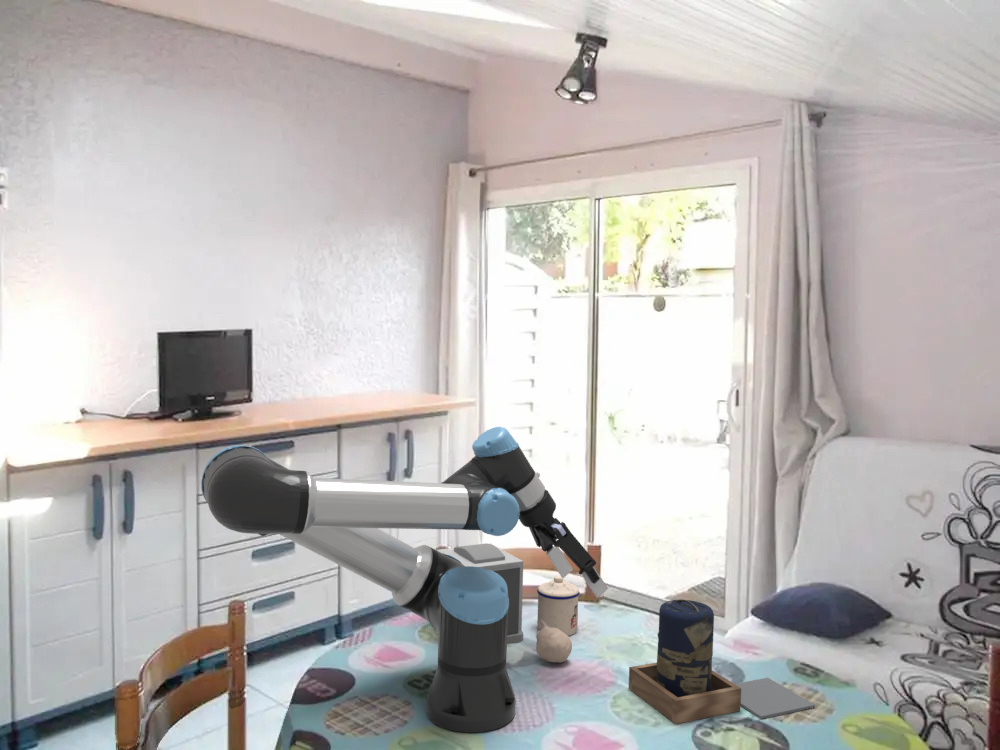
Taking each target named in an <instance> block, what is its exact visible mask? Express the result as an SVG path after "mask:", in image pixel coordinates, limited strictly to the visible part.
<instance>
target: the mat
mask: <svg viewBox="0 0 1000 750" xmlns="http://www.w3.org/2000/svg"><path fill="white" fill-rule="evenodd" d="M734 684H735V685H737V686H738V687H740V688H741V707H742V709H744V710H746V711H747V712H749V713H751V714H752V715H754V716H755V717H757V718H758V719H759V720H764V719H767V718H772V717H777V716H778V717H779V716H782V715H788V714H792V713H797V712H801V710H802V711H806V710H809V709H808V708H811V709H813V708H812V707H815V708H816V704H814V703H812V702H811V701H809V700H807V699H805V698H804V697H803V696H801V695H798V694H797V693H796V692H793V691H792V690H790V689H788V688H787V687H785V686H783V685H782V684H780V683H779V682H776V681H775V680H773V679H771V678H769V677H764V678H758V679H754V680H753V679H752V680H748V681H747V680H746V681H743V682H739V683H734ZM741 707H740V708H741ZM805 709H806V710H805Z"/></svg>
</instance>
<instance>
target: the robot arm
mask: <svg viewBox="0 0 1000 750" xmlns="http://www.w3.org/2000/svg"><path fill="white" fill-rule="evenodd" d="M471 448H472V451H473V453H474V456H473V457H472V458H471V460H469V461H468V462H467V463H465V465H463V466H462V467H460V468H458V470H456V471H455V472H454V473H452V474H451V475H450V476H449V477H447V478H446V479H445V480H443V481H441V482H439V483H438V482H436V483H435V482H418V481H417V482H416V481H415V482H413V481H394V480H393V481H391V480H370V479H369V480H367V479H366V480H365V479H344V478H322V477H313V476H312V474H310V473H309V472H308V471H307V470H295V469H288V468H287V467H285V466H283V465H281V464H280V463H279V462H276V461H274V460H273V459H271V458H269V457H268V456H266V454H265V453H264V452H263V451H261V450H260V449H258V448H256V447H253V446H249V445H231V446H228V447H225V448H223V449H221V450H219V451H218V452H216V453H215V454H214V455H213V456H212V457H211V458H210V459H209V461H208V462H207V463H206V465H205V467H204V470H203V472H202V476H201V477H202V478H201V480H200V481H201V483H200V484H201V492H202V496H203V498H204V500H205V502H206V503H207V504H208V507H209V510H210V512H211V515H212V516H213V517H214V518H215V521H217V522H218V523H219V524H221V525H222V526H223V527H225V528H226V529H228V530H230V531H232V532H236V533H242V534H254V535H255V534H257V535H260V536H261V537H264V538H265V537H269V536H272V535H275V534H276V535H277V534H278V535H280V536H282V537H284V538H286V539H288V540H290V541H292V542H294V543H296V544H297V545H300V546H302V547H304V548H305V549H308V551H311V552H313V553H315V554H317V555H318V556H321V557H323V558H325V559H327V560H328V561H331V562H333V564H336V565H339V566H341V567H343V568H345V569H346V570H348V571H350V572H353V574H355V575H358V576H360V577H362V578H364V579H366V580H368V581H369V582H372V583H373V584H376V585H377V586H379V587H382V588H383V589H385V590H386V591H389V592H391V596H392V600H393V602H394V603H395V604H396V605H397V606H399V607H401V608H403V609H405V610H407V611H409V612H411V613H413V614H415V615H416V616H419V617H421V618H422V619H424V620H425V621H427V622H428V623H429V624H430V625H431V626H432V628H433V629H434V630H435V631H436V632H437V635H438V637H437V641H438V642H437V667H436V671H435V674H434V676H433V679H432V682H431V685H430V687H429V691H428V694H427V696H426V711H425V712H426V716H427V718H428V719H429V720H430V721H431V723H433V724H435V725H436V726H438V727H441V728H443V729H447V730H449V731H450V730H451V731H453V732H454V731H455V732H461V733H482V732H483V733H484V732H488V731H493V730H497V729H500V728H502V727H504V726H506V725H508V724H509V723H510V722H511V721H513V719H514V718H515V715H516V705H517V704H516V703H517V702H516V696H515V692H514V689H513V686H512V683H511V679H510V676H509V672H508V670H507V654H508V653H507V652H508V651H507V648H508V647H507V645H508V644H507V626H508V608H509V598H508V589H507V584H506V582H505V580H504V579H503V578H502V577H501V576H500V575H499V574H497V573H495V572H493V571H491V570H484V568H481V567H473V566H464V565H463V564H462V563H461V562H460V561H459V560H457V559H456V558H454V557H452V556H450V555H446V554H444V553H440V552H438V551H436V550H437V549H434V548H433V547H431V546H430V545H426V544H423V545H419V546H417V547H412V546H411V545H410V544H407V543H405V542H403V541H402V540H400V539H399V538H396V537H395V536H393V535H391V534H389V533H387V532H385V531H383V530H382V529H396V530H397V529H402V530H404V529H406V530H407V529H410V530H411V529H413V530H459V531H460V530H461V531H463V530H465V531H482V533H484V534H487V535H490V536H495V537H501V536H505V535H507V534H509V533H511V531H513V529H515V527H516V526H517V524H518V522H520V523H521V525H523V526H524V527H526V528H528V529H529V531H530V533H531V535H532V538H533V540H534V542H535V544H536V546H537V547H539V548H541V550H542V551H543V552H544V553H545V552H546V553H545V554H546V556H547V558H548V560H550V561H551V563H552V565H553V566H554V568H555V569H556V571H557V573H558V574H559V576H561V577H562V578H563V579H564V578H566V576H568V575H569V574H571V572H572V571H573V570H574V569H573V567H572V565H571V564H570V562H569V561H568V560H567V558H569V559H570V560H571V561H572V563H573V564H574V565H575V566H576V567H578V569H579V571H578V575H580V576H582V578H583V579H584V581H585V582H586V584H587V586H588V587H589V588H590V590H591V592H592V593H593V594H594V596H595V597H596V598H597V599H599V598H600V597H601V596H602V595H603V594H604V593H605V592H606V591H608V589H609V588H608V586H607V585H606V583H605V581H604V580H603V579H602V577H601V575H600V574H599V571H597V569H596V567H595V566H596V565H597V561H596V560H595V559H594V558H593V557H592V556H591V555H590V553H589V552H588V551H587V550H586V549H585V547H584V546H583V544H581V543H580V541H579V540H578V539H577V538H576V536H575V535H574V534H573V533H572V532H571V530H570V529H569V528H568V526H567V524H566V523H565V522H564V521H560V520H559V519H558V518H557V517H554V513H555V511H556V509H557V503H556V502H555V500H554V498H553V497H552V496H551V493H550V492H549V491H548V490H547V489H546V488H545V487H546V486H545V485H544V483H543V482H542V480H541V479H540V477H541V474H540V473H539V472H536V471H535V470H534V468H533V466H532V465H531V463H530V461H529V460H528V458H527V456H526V455H525V454H524V452H523V450H522V449H521V447H520V445H519V443H518V442H517V441H516V439H515V438H514V437H513V436H512V434H511V433H510V431H509V430H508V429H507V428H506V427H502V426H495V427H492V428H489V429H487V430H486V431H484V432H483V433H481V434H480V435H478V437H477V439H475V440H474V441H473V443H472V447H471ZM564 554H565V555H566V556H567V558H566V557H565V555H564Z"/></svg>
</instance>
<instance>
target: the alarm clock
mask: <svg viewBox="0 0 1000 750" xmlns="http://www.w3.org/2000/svg"><path fill="white" fill-rule="evenodd" d="M435 550H436V551H438V552H440V553H444V554H446V555H450V556H452V557H454V558H456V559H457V560H459V561H460V562H461V563H462V564H463V565H464V566H473V567H481V568H484V570H491V571H493V572H495V573H497V574H499V575H500V576H501V577H502V578H503V579H504V580H505V582H506V584H507V589H508V598H509V608H508V626H507V645H512V644H517V643H522V642H524V631H523V630H522V629H523V626H522V625H523V622H522V621H523V595H524V594H523V593H524V592H523V590H524V589H523V587H524V585H523V584H524V560H523V559H520V558H518V557H516V556H514V555H513V554H511V553H509V552H508V551H505V550H504V549H501V548H500V547H498V546H497V545H494V544H492V543H487V542H486V543H479V544H469V545H461V546H454V547H451V548H450V547H449V548H442V549H435ZM521 641H522V642H521Z"/></svg>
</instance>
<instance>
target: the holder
mask: <svg viewBox="0 0 1000 750" xmlns="http://www.w3.org/2000/svg"><path fill="white" fill-rule="evenodd" d="M735 684H736V683H733V682H732V681H731V680H728V679H727V678H725V677H724V676H722V675H721V674H719V673H717V672H716V671H714V670H712V675H711V691H709V692H704V693H699V694H693V695H688V696H683V697H676V696H675V695H674V694H672V693H671V692H669V691H668V690H667V689H665V688H664V687H662V686H661V685H660V684H658V683H657V662H651V663H646V664H639V665H634V666H629V667H628V690H630V691H631V692H632V693H634V694H635V695H636V696H638V697H639V698H640V699H642V700H643V701H645V702H646V703H647V704H648V705H650V706H651V707H652V708H654V709H655V710H656V711H658V712H659V713H660V714H662V715H663V716H664V717H665V718H666V719H668V720H669V721H671V722H672V723H673V724H675V725H678V724H684V723H688V722H693V721H698V720H702V719H703V720H704V719H707V718H712V717H717V716H722V715H727V714H731V713H736V712H737V713H738V712H740V711H741V688H740V687H738V686H737V685H735Z"/></svg>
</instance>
